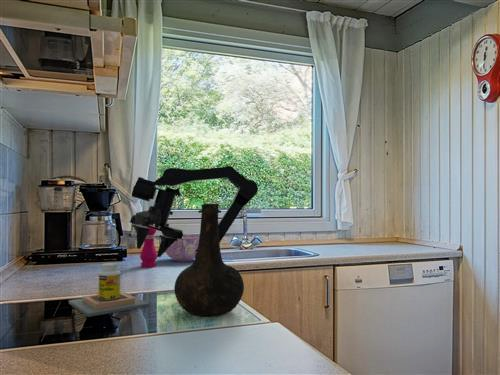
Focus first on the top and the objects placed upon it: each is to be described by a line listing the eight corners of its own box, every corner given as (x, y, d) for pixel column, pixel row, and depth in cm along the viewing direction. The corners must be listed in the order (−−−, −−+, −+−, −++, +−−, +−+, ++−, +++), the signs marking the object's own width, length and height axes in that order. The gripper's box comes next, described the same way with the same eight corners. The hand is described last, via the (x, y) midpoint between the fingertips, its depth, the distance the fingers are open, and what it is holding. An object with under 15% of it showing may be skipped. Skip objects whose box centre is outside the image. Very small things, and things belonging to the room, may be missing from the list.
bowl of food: (194, 264, 177) (194, 238, 178) (154, 262, 183) (154, 237, 183) (210, 258, 197) (211, 235, 197) (173, 256, 202) (174, 233, 202)
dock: (125, 295, 119) (125, 288, 119) (149, 306, 107) (149, 298, 107) (68, 303, 109) (68, 296, 109) (88, 316, 97) (88, 308, 97)
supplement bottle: (94, 303, 106) (95, 265, 106) (103, 298, 111) (104, 262, 112) (115, 304, 105) (115, 265, 106) (123, 299, 111) (123, 262, 111)
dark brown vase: (218, 328, 90) (220, 203, 91) (158, 315, 98) (160, 202, 99) (256, 309, 105) (257, 203, 106) (201, 300, 114) (203, 202, 115)
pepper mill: (152, 268, 167) (153, 220, 167) (136, 267, 168) (137, 220, 169) (159, 265, 174) (160, 219, 174) (144, 264, 175) (145, 219, 176)
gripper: (124, 194, 126) (109, 242, 125) (167, 208, 117) (151, 260, 116) (149, 201, 136) (135, 245, 135) (190, 214, 126) (175, 262, 125)
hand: (148, 252), depth 127 cm, fingers open, 9 cm apart
